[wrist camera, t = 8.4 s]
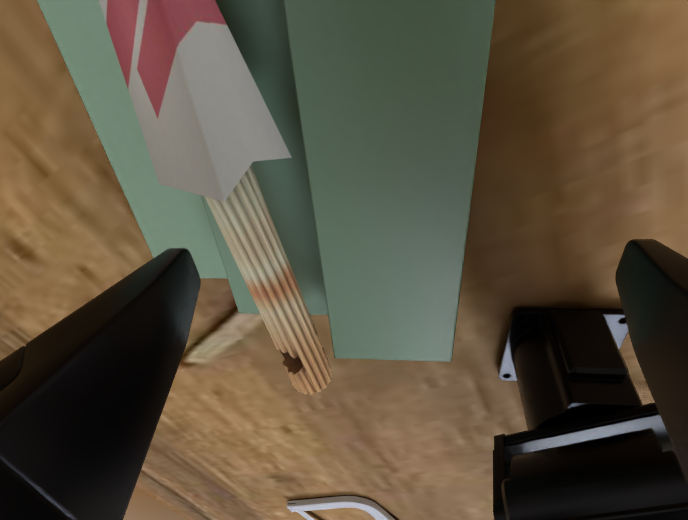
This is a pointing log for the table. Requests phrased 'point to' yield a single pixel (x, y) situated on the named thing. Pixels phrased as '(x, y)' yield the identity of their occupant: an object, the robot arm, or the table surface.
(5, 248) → the table surface
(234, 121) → the paintbrush
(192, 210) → the staircase
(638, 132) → the table surface
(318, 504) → the hand saw
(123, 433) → the robot arm
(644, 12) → the table surface
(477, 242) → the table surface
